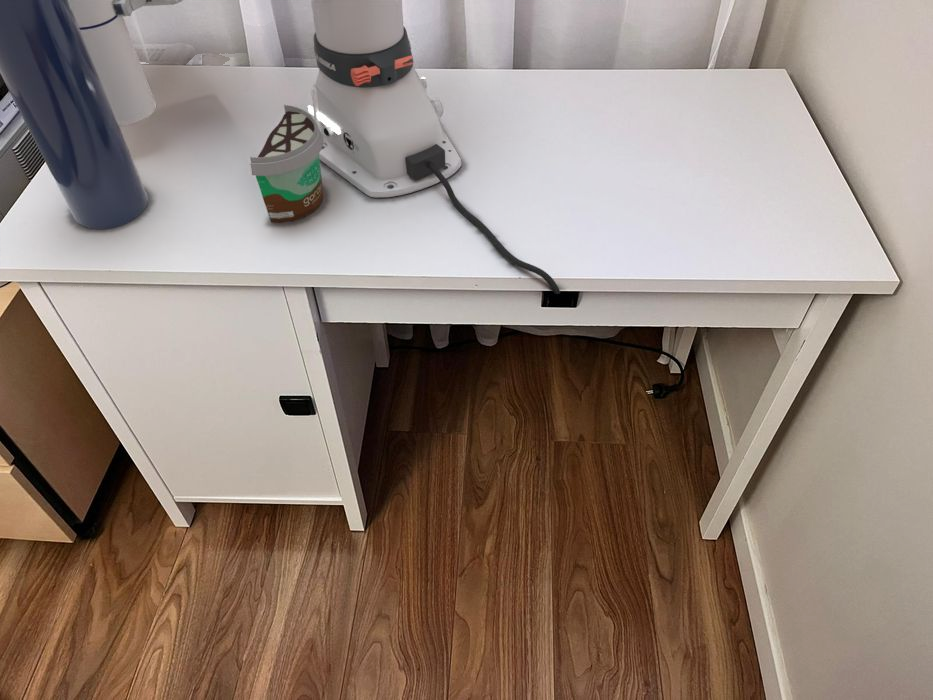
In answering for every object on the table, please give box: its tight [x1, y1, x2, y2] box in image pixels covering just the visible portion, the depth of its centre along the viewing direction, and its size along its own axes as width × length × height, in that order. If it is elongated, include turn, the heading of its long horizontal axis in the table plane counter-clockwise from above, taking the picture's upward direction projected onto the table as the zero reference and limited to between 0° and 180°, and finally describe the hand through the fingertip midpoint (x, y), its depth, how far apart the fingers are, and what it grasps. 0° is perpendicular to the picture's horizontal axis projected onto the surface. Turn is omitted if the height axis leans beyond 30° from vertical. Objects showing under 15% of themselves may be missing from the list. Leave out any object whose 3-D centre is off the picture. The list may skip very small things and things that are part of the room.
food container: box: [249, 104, 324, 224], centre depth 89 cm, size 12×6×10 cm, turn 170°
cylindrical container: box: [68, 0, 157, 126], centre depth 87 cm, size 7×7×25 cm
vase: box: [0, 0, 149, 230], centre depth 79 cm, size 9×9×36 cm
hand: (84, 12), depth 86 cm, fingers closed on cylindrical container, 7 cm apart
